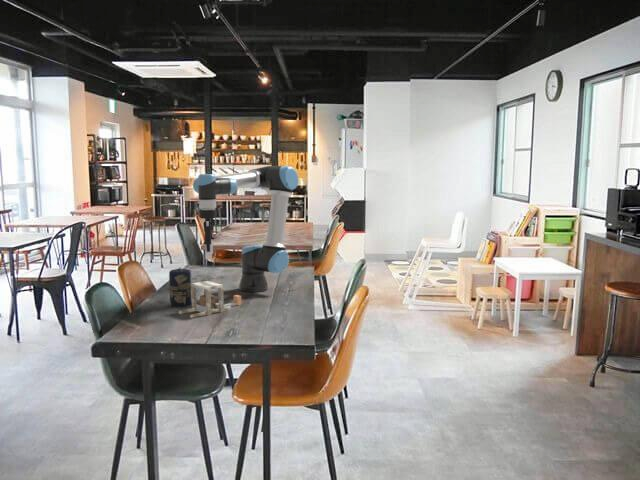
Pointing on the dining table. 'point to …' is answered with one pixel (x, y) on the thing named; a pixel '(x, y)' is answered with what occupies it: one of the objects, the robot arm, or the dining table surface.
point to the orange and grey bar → (203, 309)
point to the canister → (180, 287)
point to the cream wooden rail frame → (207, 291)
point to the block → (203, 301)
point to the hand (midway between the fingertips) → (209, 256)
